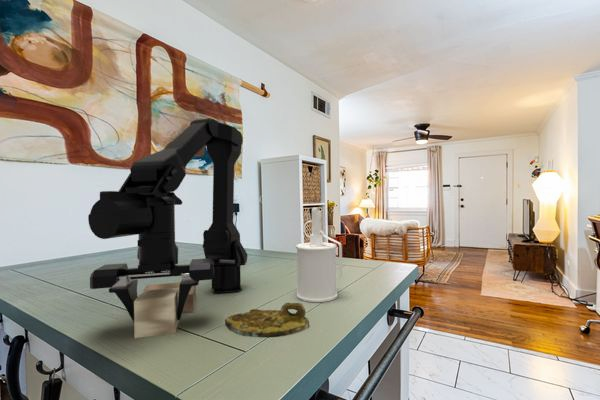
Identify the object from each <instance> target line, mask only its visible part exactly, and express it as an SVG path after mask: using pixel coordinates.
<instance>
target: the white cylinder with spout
mask: <svg viewBox="0 0 600 400" xmlns="http://www.w3.org/2000/svg"><path fill="white" fill-rule="evenodd" d="M310 222H311V234H307V232H306V225H307V224H308V223H310ZM303 233H304V235H305V236H306V237H307V238H309V242H302V243H297V244H296V245H295V249H296V256H297V257H296V259H297V260H296V263H297V266H296V267H297V291H296V297H297V298H298V300H301V301H304V302H309V303H326V302H330V301H333V300H336V299H337V298H338V292H337V261H336V260H337V259H336V257H337V256H336V255H337V254H336V253H337V251H336V250H337V247H338V260H339V261H338V264H339V267H338V268H339V269H338V271H339V280H342V279H343V252H342V251H343V249H342V248H343V247H342V243H341V242H339V241H338V240H336V239H334V238H332V237H330V236H328V235H326V234H325V231H323V230H322V211H321V210H319V207H312V209H311V220H308V221H306V222H304V225H303ZM323 238H324V239H327V240H329V241H331V242H332V243H331V242H325V241H324V242H323ZM337 245H338V246H337Z"/></svg>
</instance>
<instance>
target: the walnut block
mask: <svg viewBox="0 0 600 400" xmlns="http://www.w3.org/2000/svg"><path fill="white" fill-rule="evenodd" d="M180 283H181V281H179V282H169V283H156V284H147V285H146V286H145V288H144V289H143V290H142V292H143V291H145V290H157V289H169V288H179V286H180ZM196 287H197V286H192V287H191V289H190V292H189V294H188V296H187V298H186V302H185V305H184V309H183V312H182V315H183V314H189V313H194V309H195V303H196V297H197V296H196V295H197V294H196V293H197V290H196ZM142 292H141V293H142Z"/></svg>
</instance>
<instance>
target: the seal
mask: <svg viewBox="0 0 600 400" xmlns="http://www.w3.org/2000/svg"><path fill="white" fill-rule="evenodd" d="M289 310H295V311H296V312H290V311H289ZM224 322H225V325H227V327H228V329H229V331H230V332H232V333H235V334H237V335H240V336H244V337H250V338H251V337H252V338H271V337H272V338H276V337H285V336H290V335H294V334H298V333H301V332H303V331H305V330H307V329H308V328H309V327H310V320H309V319H308V318H307V317H306V308H305V305H304V304H303V303H299V302H286V303H284V304H283V305H282V306H281V307H280V310H279V309H277V310H275V309H273V310H271V309H269V310H265V309H263V310H262V309H257V308H253V309H250V311H248V312H247V311H246V312H243V313H237V314H231V315H229V316H227V317H226V318H225V320H224Z"/></svg>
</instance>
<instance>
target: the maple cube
mask: <svg viewBox="0 0 600 400" xmlns="http://www.w3.org/2000/svg"><path fill="white" fill-rule="evenodd" d="M142 291H143V290H142ZM137 296H138V297H137V298H136V300H135V301H134V322H133V325H134V327H133V328H134V339H138V338H148V337H154V336H162V335H163V336H164V335H171V334H175V333H176V330H177V328H178V324H179V322H180V320H179V321H178V320H177V308H178V297H179V288H169V289H157V290H145V291H143V292H140V294H139V295H137Z"/></svg>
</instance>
